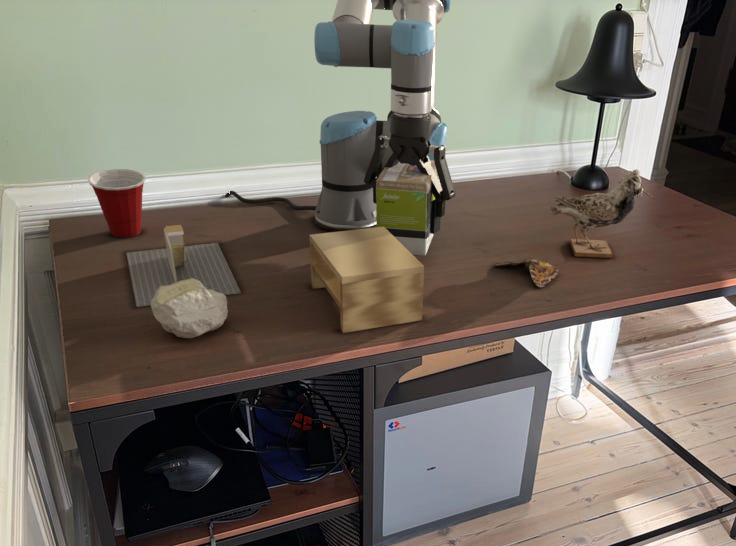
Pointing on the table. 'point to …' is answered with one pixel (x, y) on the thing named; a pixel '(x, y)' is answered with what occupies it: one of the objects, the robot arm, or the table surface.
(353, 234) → the birch shelf
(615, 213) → the stuffed bird
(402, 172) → the tea box
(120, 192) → the plastic cup
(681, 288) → the table surface
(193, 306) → the white rock
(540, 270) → the butterfly model
